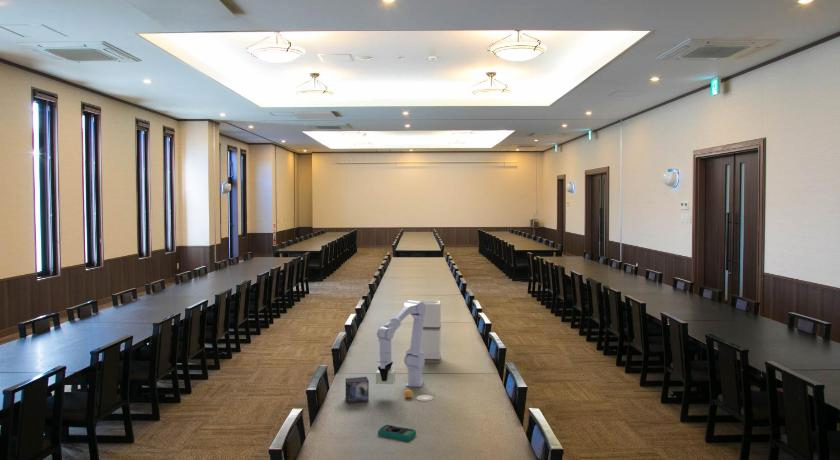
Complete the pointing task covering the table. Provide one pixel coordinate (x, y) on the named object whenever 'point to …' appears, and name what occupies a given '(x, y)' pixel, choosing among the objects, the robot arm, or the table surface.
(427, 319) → the white rectangular tower
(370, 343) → the table surface
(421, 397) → the white round disc
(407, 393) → the ball
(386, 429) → the digital multimeter
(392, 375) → the pale green block
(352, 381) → the small box
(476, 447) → the table surface
